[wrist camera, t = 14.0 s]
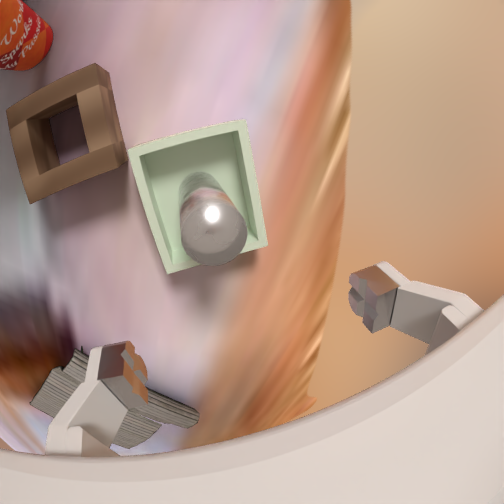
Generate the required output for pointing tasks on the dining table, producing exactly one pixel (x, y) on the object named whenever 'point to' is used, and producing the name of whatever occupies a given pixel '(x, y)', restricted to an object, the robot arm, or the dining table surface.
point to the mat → (133, 424)
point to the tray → (189, 161)
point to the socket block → (41, 139)
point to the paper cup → (22, 36)
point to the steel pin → (209, 221)
